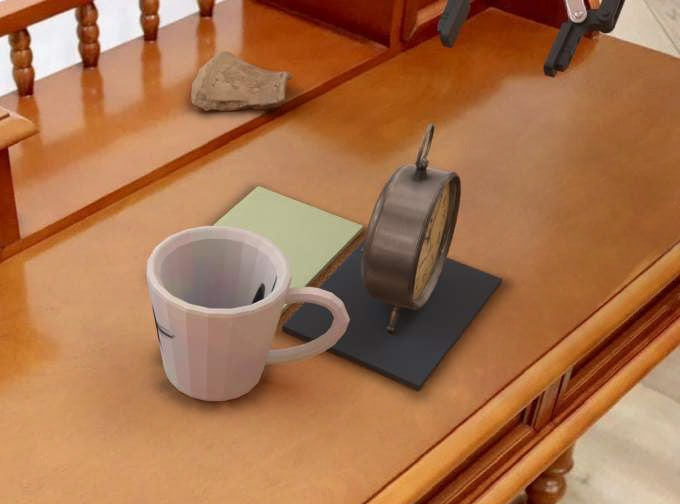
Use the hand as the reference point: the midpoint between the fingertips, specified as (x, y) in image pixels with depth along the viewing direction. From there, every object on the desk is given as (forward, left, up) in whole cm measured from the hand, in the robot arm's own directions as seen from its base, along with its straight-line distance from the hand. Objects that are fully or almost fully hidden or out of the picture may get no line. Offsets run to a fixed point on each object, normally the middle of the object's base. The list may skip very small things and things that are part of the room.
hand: (496, 58), depth 86 cm
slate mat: (0, +12, -17) cm, 21 cm away
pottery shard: (+29, -11, -17) cm, 35 cm away
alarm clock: (0, +12, -17) cm, 21 cm away
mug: (+6, +26, -17) cm, 32 cm away
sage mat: (+12, +12, -17) cm, 24 cm away
